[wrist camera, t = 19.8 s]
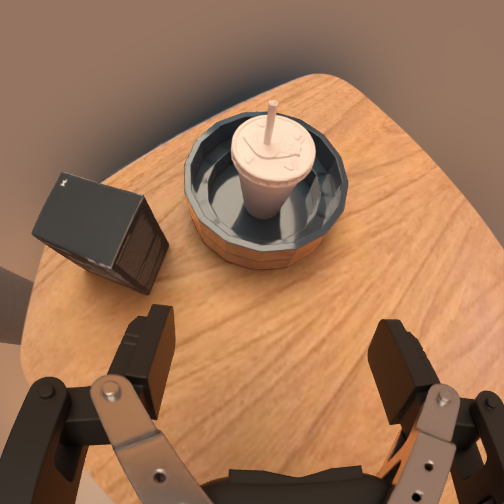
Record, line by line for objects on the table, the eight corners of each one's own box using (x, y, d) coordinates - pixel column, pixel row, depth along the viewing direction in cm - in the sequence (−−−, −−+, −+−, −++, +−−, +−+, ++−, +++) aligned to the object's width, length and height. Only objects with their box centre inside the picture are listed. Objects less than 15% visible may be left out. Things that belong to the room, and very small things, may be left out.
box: (83, 270, 29) (28, 233, 19) (105, 221, 31) (62, 168, 21) (149, 298, 29) (110, 269, 19) (171, 243, 31) (145, 192, 21)
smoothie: (240, 168, 33) (247, 65, 20) (300, 184, 33) (336, 88, 19) (222, 222, 31) (217, 129, 18) (286, 240, 31) (324, 157, 17)
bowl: (195, 277, 30) (186, 258, 24) (190, 151, 34) (184, 116, 28) (340, 263, 31) (363, 243, 25) (314, 145, 35) (327, 111, 30)
